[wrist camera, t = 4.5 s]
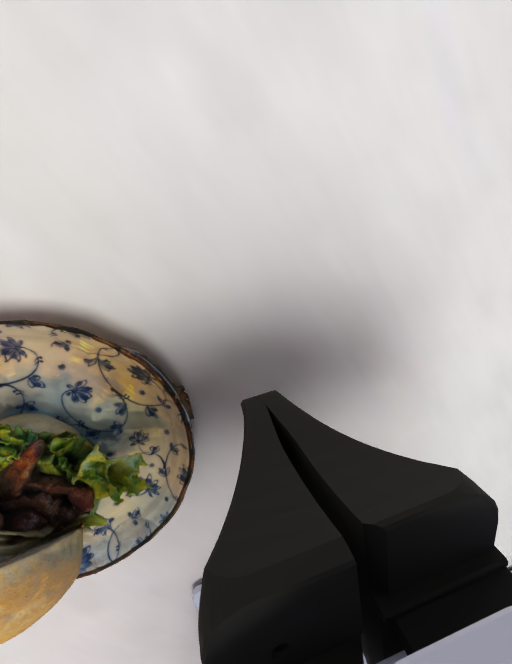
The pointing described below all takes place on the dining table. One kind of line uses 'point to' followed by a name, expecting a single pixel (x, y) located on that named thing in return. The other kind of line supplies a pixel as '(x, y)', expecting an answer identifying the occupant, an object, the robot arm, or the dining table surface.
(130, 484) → the burger
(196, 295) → the dining table surface
